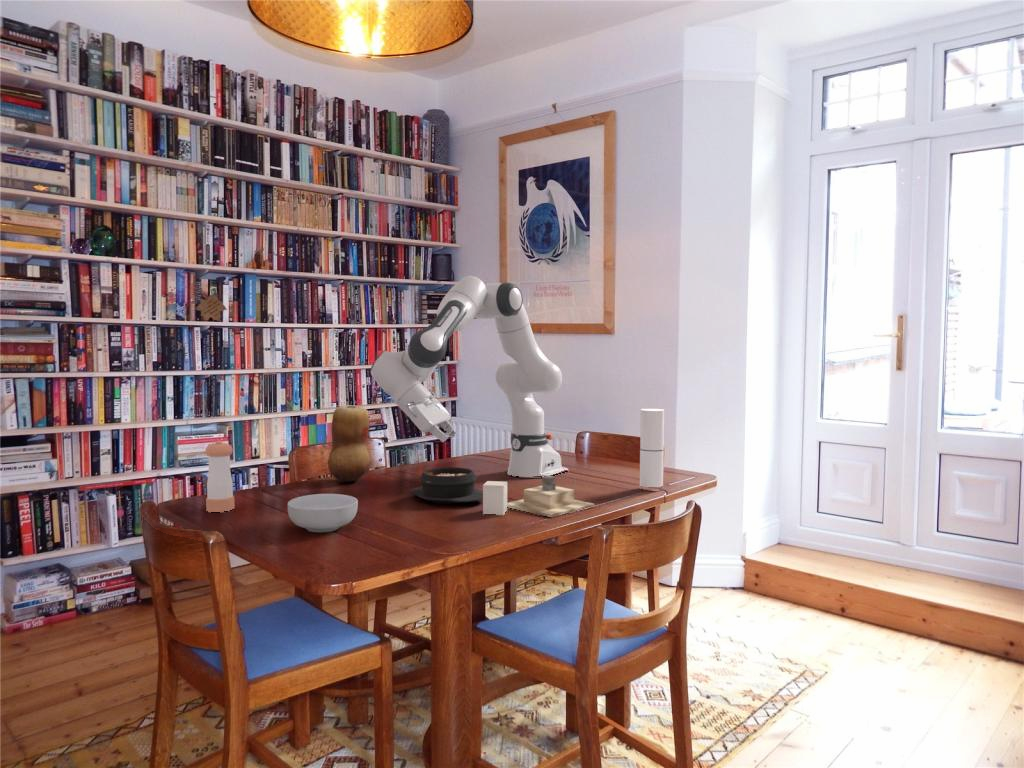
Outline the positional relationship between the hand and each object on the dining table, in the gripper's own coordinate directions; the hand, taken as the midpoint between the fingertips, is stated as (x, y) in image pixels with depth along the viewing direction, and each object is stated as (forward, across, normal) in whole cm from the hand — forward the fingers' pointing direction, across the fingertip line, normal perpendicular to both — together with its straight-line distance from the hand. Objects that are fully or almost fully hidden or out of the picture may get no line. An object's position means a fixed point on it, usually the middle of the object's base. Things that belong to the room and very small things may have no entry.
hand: (450, 438), depth 203 cm
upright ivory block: (+23, 0, +5) cm, 24 cm away
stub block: (+32, +9, -4) cm, 34 cm away
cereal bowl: (-4, -24, +33) cm, 41 cm away
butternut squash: (-16, +33, +44) cm, 58 cm away
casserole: (+12, +13, +17) cm, 25 cm away
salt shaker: (-29, -11, +59) cm, 66 cm away
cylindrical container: (+52, +39, -25) cm, 70 cm away
